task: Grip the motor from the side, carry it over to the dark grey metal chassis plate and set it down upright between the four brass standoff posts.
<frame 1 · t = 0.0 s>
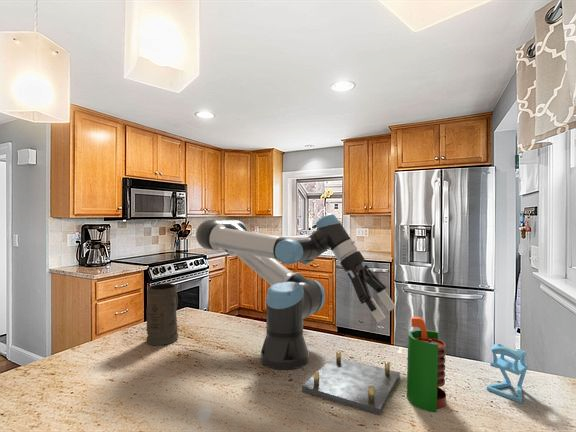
hand: (387, 314, 100), 15 cm above the countertop, tool tilted 35°, fingers open, 13 cm apart
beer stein: (164, 339, 120), on the countertop
chassis: (353, 384, 88), on the countertop
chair: (509, 392, 85), on the countertop
motor: (426, 401, 80), on the countertop
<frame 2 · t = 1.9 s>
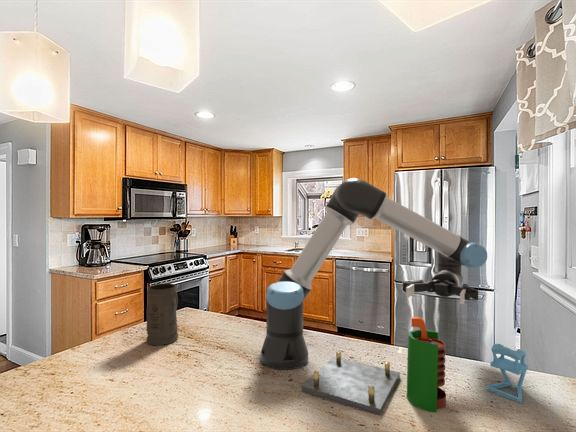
hand: (433, 295, 89), 24 cm above the countertop, tool horizontal, fingers open, 13 cm apart
nothing on the countertop moved.
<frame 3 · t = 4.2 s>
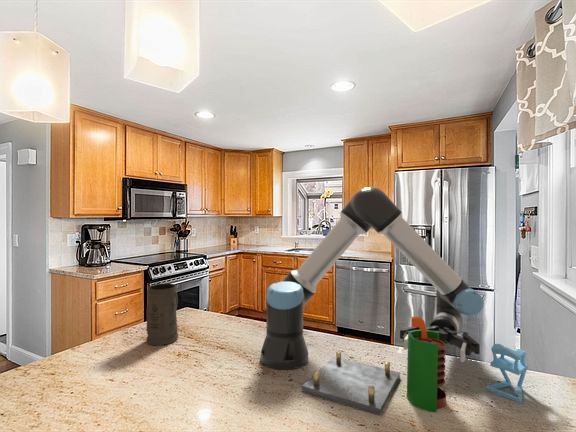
hand: (432, 350, 84), 11 cm above the countertop, tool horizontal, fingers open, 13 cm apart
nothing on the countertop moved.
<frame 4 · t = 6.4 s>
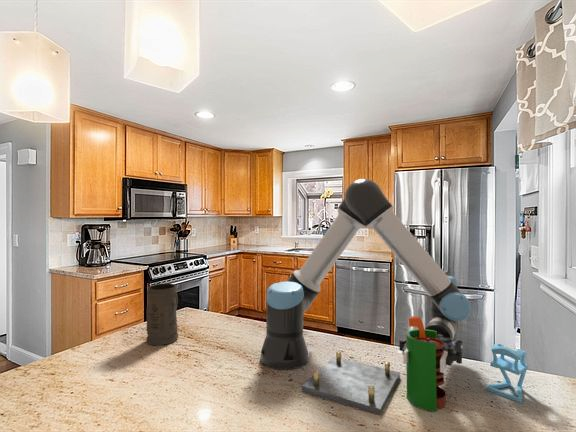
hand: (422, 362, 76), 11 cm above the countertop, tool horizontal, fingers open, 7 cm apart
motor: (426, 400, 80), on the countertop, touching gripper
everything else where it was.
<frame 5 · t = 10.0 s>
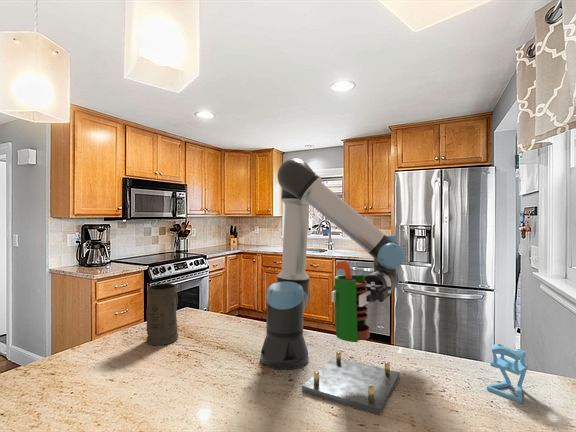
hand: (346, 299, 84), 24 cm above the countertop, tool horizontal, fingers closed on motor, 7 cm apart
motor: (352, 336, 88), point 13 cm above the countertop, touching gripper
everything else where it was.
when the fingers open (13 cm above the countertop, at t = 13.2 s): motor drops 1 cm, resting on chassis.
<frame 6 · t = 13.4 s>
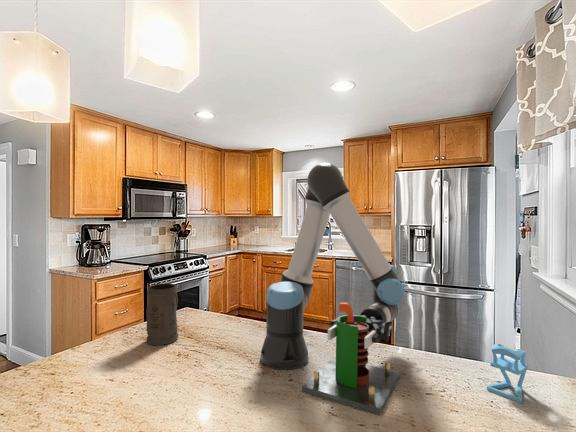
hand: (346, 338, 84), 13 cm above the countertop, tool horizontal, fingers open, 9 cm apart
motor: (352, 379, 88), point 1 cm above the countertop, touching chassis
everything else where it was.
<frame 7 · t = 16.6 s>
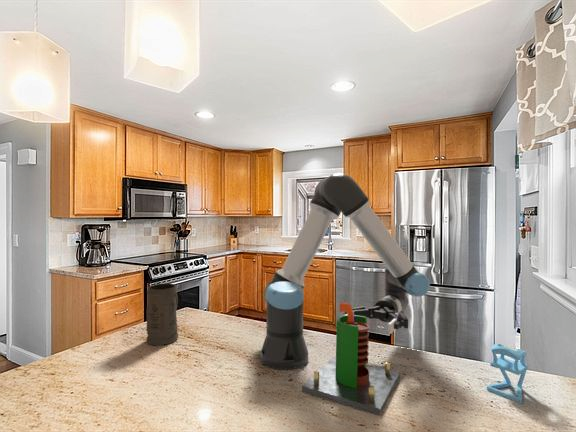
hand: (365, 324, 96), 14 cm above the countertop, tool horizontal, fingers open, 13 cm apart
nothing on the countertop moved.
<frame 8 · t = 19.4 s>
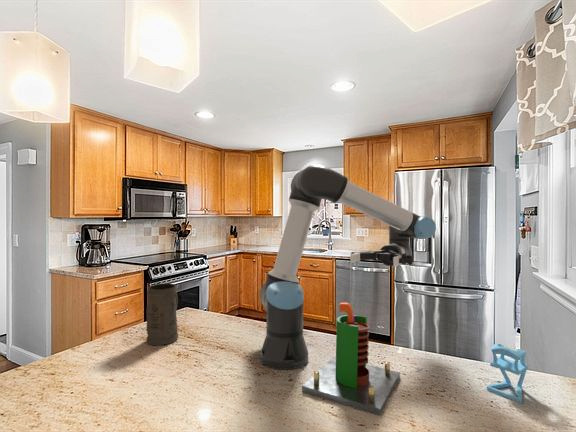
hand: (372, 260, 100), 32 cm above the countertop, tool horizontal, fingers open, 13 cm apart
nothing on the countertop moved.
at the end: motor 0.3 cm off-centre on the chassis, point 1.3 cm above the chassis's base; motor tilted 0°; the gripper is holding nothing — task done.
